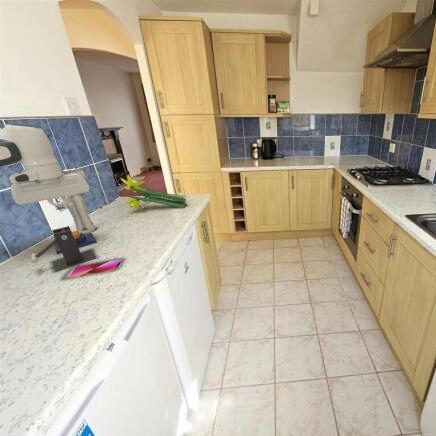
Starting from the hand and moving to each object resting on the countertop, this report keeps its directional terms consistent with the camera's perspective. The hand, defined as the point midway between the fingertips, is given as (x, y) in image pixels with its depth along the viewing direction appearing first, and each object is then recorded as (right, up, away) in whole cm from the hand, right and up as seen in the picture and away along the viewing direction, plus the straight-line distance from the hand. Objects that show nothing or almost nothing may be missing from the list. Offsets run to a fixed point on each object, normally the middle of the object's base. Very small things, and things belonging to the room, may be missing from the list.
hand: (61, 208), depth 91 cm
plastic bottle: (-5, -10, +17) cm, 21 cm away
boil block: (0, -15, +6) cm, 16 cm away
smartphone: (+21, -21, -10) cm, 31 cm away
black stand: (+10, -19, -5) cm, 22 cm away
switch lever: (+7, -13, -10) cm, 18 cm away
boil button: (0, -11, +5) cm, 12 cm away
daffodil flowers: (+11, +3, +45) cm, 47 cm away
